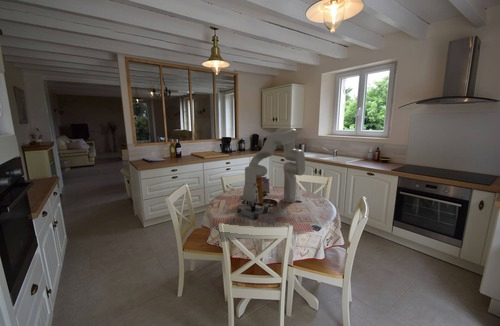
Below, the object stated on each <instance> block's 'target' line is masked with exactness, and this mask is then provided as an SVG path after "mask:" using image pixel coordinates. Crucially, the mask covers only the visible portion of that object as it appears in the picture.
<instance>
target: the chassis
mask: <svg viewBox="0 0 500 326" xmlns="http://www.w3.org/2000/svg"><path fill="white" fill-rule="evenodd" d="M249 203H250V202H249ZM268 212H269V207H268V206H264V207H263V206H261V205H259V204H256V205H255V211H253V212H250V211H247V210H245V209H243V208H242V207H238V208H237V209H236V213H237V215H238V216H240V217H243V218H246V219H250V220H257V219H258V218H259V217H260V216H261V215H262V214H263V213H268Z"/></svg>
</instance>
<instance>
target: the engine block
mask: <svg viewBox="0 0 500 326" xmlns="http://www.w3.org/2000/svg"><path fill="white" fill-rule="evenodd" d="M252 206H253V205H252V202H250V203H248V204H245V206H244V210H247V211H250V212H252Z"/></svg>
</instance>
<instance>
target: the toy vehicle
mask: <svg viewBox="0 0 500 326" xmlns="http://www.w3.org/2000/svg"><path fill="white" fill-rule="evenodd" d="M262 186H263V196H266V195H267V194H270V178H267V176H262Z"/></svg>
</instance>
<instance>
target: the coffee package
mask: <svg viewBox="0 0 500 326" xmlns="http://www.w3.org/2000/svg"><path fill="white" fill-rule="evenodd" d="M262 177H263V176H262ZM262 177H256V184H257V186H256V187H257V189H258V200H259V202H260V203H258V204H257V205H259V206H261V205H262V204H264V195H263V186H262ZM255 201H256V200H255ZM249 202H250V201H249ZM249 202H248V203H249ZM256 202H257V201H256Z"/></svg>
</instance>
